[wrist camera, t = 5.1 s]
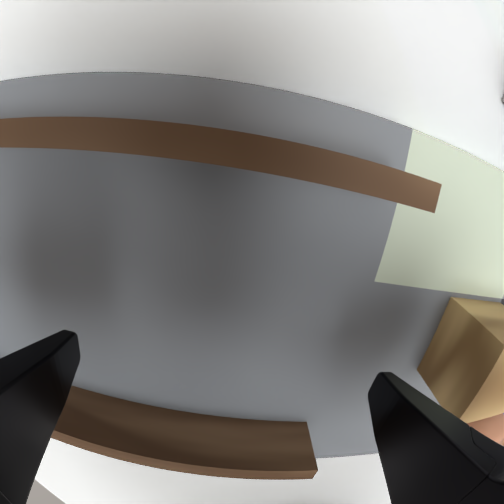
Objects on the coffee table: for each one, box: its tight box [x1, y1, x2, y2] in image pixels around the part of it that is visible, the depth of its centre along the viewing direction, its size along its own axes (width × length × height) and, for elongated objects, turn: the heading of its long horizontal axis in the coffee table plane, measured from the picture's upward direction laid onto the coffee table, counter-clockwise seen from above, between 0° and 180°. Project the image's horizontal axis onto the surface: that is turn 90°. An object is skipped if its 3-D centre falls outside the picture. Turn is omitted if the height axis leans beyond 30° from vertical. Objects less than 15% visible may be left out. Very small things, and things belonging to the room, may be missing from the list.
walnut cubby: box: [0, 117, 442, 479], centre depth 9 cm, size 13×21×3 cm, turn 80°
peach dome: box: [467, 413, 504, 446], centre depth 13 cm, size 4×4×4 cm
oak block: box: [417, 297, 504, 423], centre depth 11 cm, size 4×4×4 cm
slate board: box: [0, 72, 504, 458], centre depth 12 cm, size 17×36×1 cm, turn 80°
